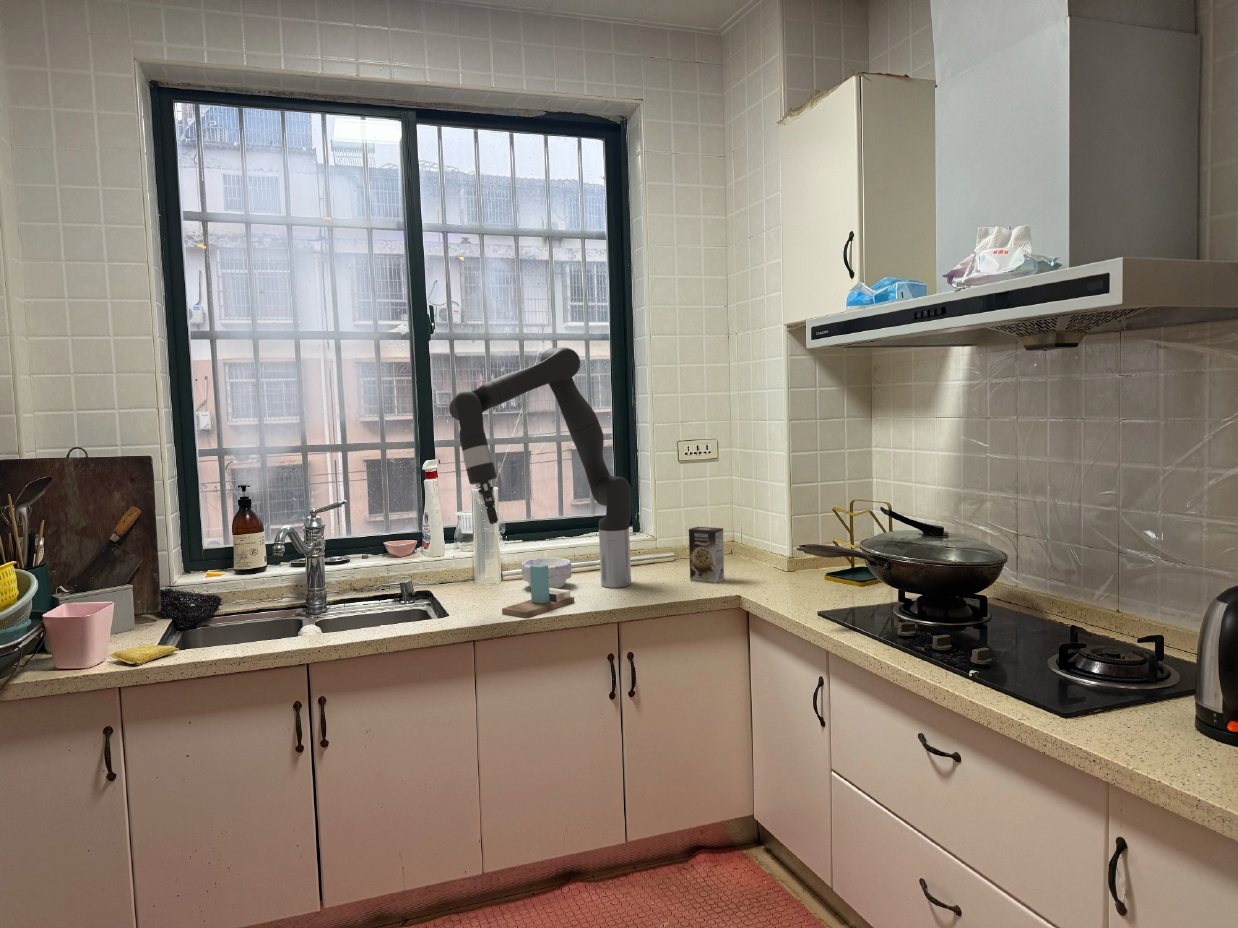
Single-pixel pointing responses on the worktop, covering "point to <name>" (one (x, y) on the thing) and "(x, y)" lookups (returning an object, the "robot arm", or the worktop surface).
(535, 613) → the stand
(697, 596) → the worktop surface
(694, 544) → the coffee box
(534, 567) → the teal rectangular block
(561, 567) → the white and purple bowl
